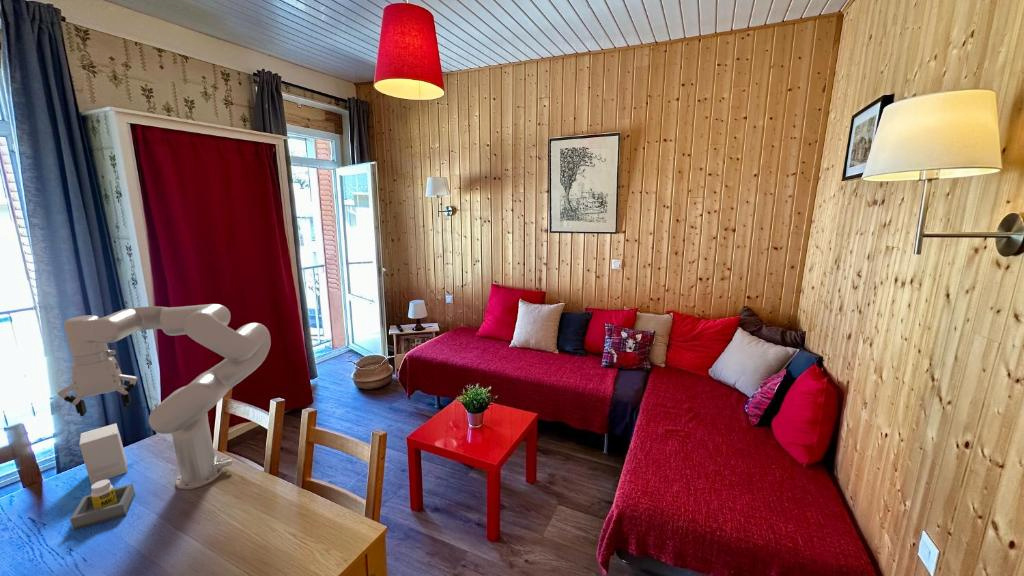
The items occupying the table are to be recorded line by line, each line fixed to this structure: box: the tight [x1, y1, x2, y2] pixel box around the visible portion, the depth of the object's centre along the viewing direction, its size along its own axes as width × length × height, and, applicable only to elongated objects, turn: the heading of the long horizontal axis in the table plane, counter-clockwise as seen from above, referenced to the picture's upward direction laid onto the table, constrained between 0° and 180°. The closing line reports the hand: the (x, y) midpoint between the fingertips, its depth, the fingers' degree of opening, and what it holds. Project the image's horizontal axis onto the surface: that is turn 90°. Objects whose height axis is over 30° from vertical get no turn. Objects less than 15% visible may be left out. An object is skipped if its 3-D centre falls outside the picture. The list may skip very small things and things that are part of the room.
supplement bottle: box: [90, 479, 117, 510], centre depth 121 cm, size 5×5×8 cm
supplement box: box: [78, 422, 128, 485], centre depth 137 cm, size 9×9×15 cm
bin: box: [69, 483, 136, 532], centre depth 121 cm, size 11×10×4 cm
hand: (105, 409), depth 126 cm, fingers open, 9 cm apart
